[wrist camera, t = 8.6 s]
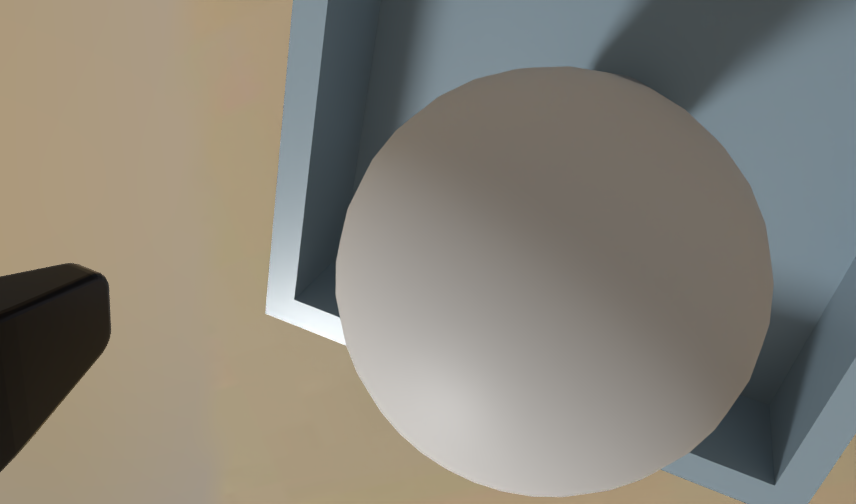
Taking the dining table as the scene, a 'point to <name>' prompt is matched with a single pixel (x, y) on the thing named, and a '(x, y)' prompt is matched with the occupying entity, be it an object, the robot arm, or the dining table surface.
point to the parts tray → (672, 78)
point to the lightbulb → (554, 281)
